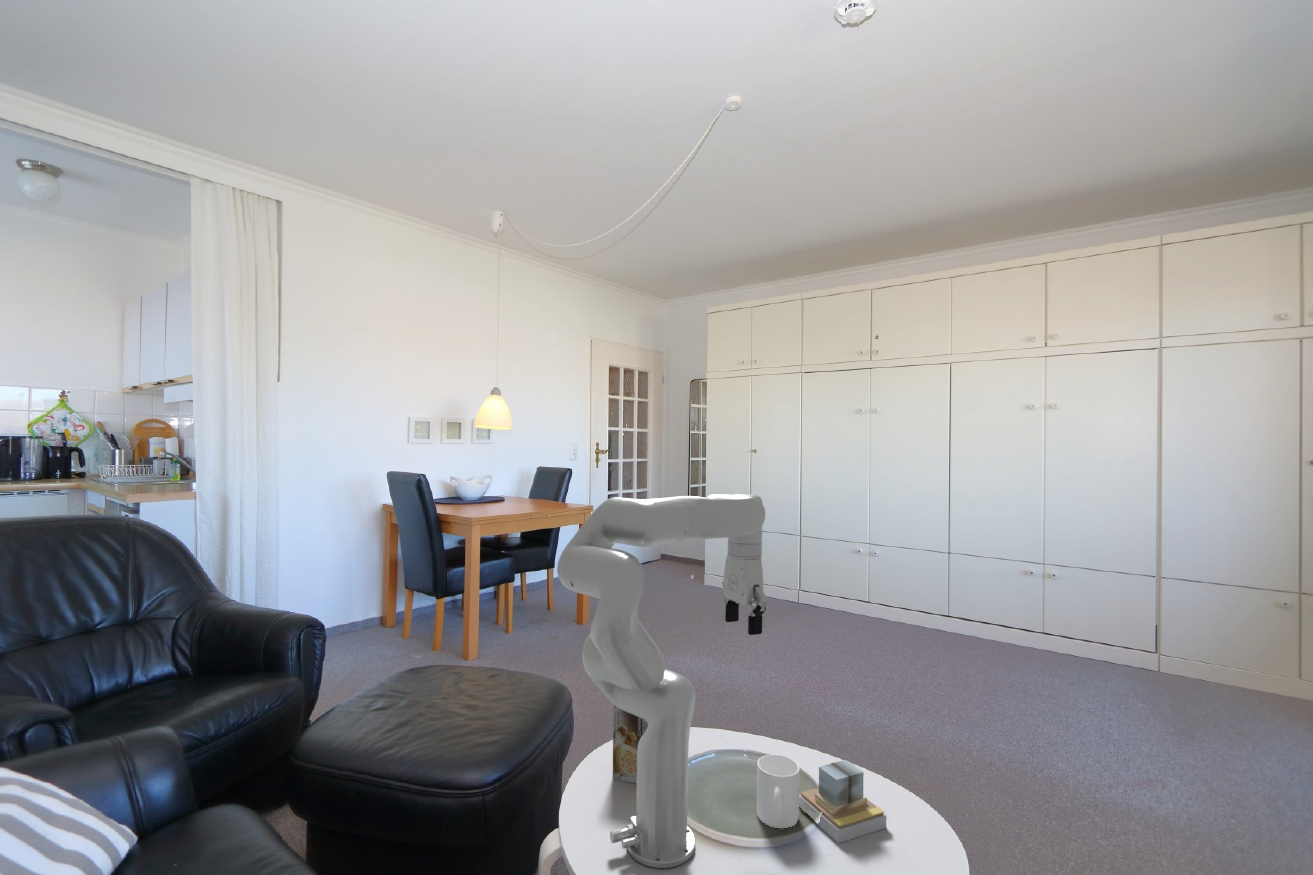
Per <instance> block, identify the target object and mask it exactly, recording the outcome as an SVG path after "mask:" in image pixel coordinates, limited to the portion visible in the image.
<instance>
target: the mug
mask: <svg viewBox="0 0 1313 875" xmlns="http://www.w3.org/2000/svg"><path fill="white" fill-rule="evenodd" d="M756 765H757V768H756V769H757V770H756V774H757V775H756V778H757V779H756V813H757V817H758V818H759V821H761V822H762V823H763V824H764V823H765V824H764V825H765V826H767V825H768V826H767V827H769V826H770V827H769V828H772V827H774V828H773V829H775V828H782V829H781V830H784V829H783V828H788V827H791V828H793V827H794V826H796V825H797V823H798V822H799V817H800V816H799V815H800V808H799V794H800V765H799V764H798V763H797V761H796V760H794V759H792V758H790V757H788V756H786V755H781V754H773V753H771V754H766V755H763V756H760V758H759V759H757V764H756ZM797 821H798V822H797ZM792 826H793V827H792ZM788 829H789V828H788Z"/></svg>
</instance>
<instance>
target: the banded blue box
mask: <svg viewBox="0 0 1313 875" xmlns="http://www.w3.org/2000/svg"><path fill="white" fill-rule="evenodd" d="M818 788H819V793H817V794H815V801H816V802H818V803H819V804H820V805H821V806H822V807H824V808H825V809H826V810H827V811H828V812H830V813H831V814H835V813H838V812H841V811H845V810H848V809H851V808H854V807H857V806H861V805H864V804H867V799H868V797H867V796H866V795H864V771H862V769H860V768H858V766H857V767H856V766H855V765H854V764H852V763H851V762H850V761H848V760H847V759H844V760H840V761H836V762H830V763H828V764H824V765H820V766H818Z"/></svg>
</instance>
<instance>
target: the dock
mask: <svg viewBox="0 0 1313 875" xmlns="http://www.w3.org/2000/svg"><path fill="white" fill-rule="evenodd" d="M817 793H819V787H817V788H813V789H809V790H805V791H802V792H800V793H799V803H800V805H802V806H803V807H804V808H806V809H807V810H810V811H811V812H814V813H820V812H822V814H821V817H820V822H819V823H818V825H817V826H819V828H820V829H822V830H823V831H824V832H825V833H826V834H827V835H828V836H829V837H830V838H831V839H833V841H835V842H836V843H837V844H840V843H843V842H848V841H850V840H852V839H853V840H854V839H856V838H858V837H859V838H860V837H863V836H865V835H869V834H871V833H875V832H878V831H881V830H883V829H887V814H885V810H884V809H882V808H881V807H879V806H877V805H876V804H874V803H872V802H871V801H870V800H869V799H868V798H867V804H864V805H861V806H857V807H854V808H851V809H848V810H845V811H841V812H838V813H835V814H831V813H830V812H828V811H827V810H826V809H825V808H824V807H822V806H821V805H820V804H819V803H818V802H816V801H815V794H817Z"/></svg>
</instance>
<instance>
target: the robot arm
mask: <svg viewBox="0 0 1313 875" xmlns="http://www.w3.org/2000/svg"><path fill="white" fill-rule="evenodd" d="M765 520H766V508H765V506H764V504H763V499H762V497H761V496H759V495H757V494H753V493H752V494H749V493H747V494H746V493H736V494H722V493H720V494H719V493H714V494H708V495H707V496H706V497H702V496H695V495H694V496H693V495H680V496H679V495H677V496H671V497H670V496H669V497H660V498H658V497H657V498H656V497H655V498H645V499H644V498H641V499H640V498H630V497H619V496H614V497H610V498H608V499H606V500H605V501H603V502H602V503H600V505H598V506H597V507H596V508H595V510H593V512H592V513H591V514H590V515H589V517H588V518H587V519H586V520H585V521H584V523H582V525H581V527H580V528H579V529H578V530H577V532H576V533H575V534H574V535H573V537H572V538H571V539H570V540H569V542H568V543H567V544H566V546H565V547H564V548H563V550H562V552H561V554H560V556H559V559H558V562H557V567H556V568H557V569H556V573H557V577H558V580H559V581H560V583H561V584H562V586H563V587H564V588H566V589H567V590H570V591H571V592H573V593H578V594H581V595H585V596H589V597H593V598H597V599H599V600H598V604H597V608H596V611H595V615H594V617H593V620H592V623H591V625H590V631H589V634H588V636H587V637H586V638H585V641H584V643H583V646H582V647H583V648H582V653H581V654H582V662H583V663H582V664H583V667H584V670H585V672H586V673H587V675H588V677H589V678H590V679H591V681H593V683H594V684H595V685H596V686H597V688H598V689H599V690H600V691H601V692H602V694H603V695H604V696H605V697H606V699H608V701H609V702H610V703H611V704H612V705H613V706H614V705H615V706H616V707H618V708H620V709H621V710H624V711H626V712H628V713H630V714H632V715H635V716H637V717H639V718H641V719H643V720H645V721H646V722H647V724H648V727H647V730H646V731H645V732H644V734H643V735H642V737H641V738H640V740H639V743H638V748H637V783H636V789H635V790H636V798H635V815H633V816H631V817H630V824H626V825H625V827H623V828H617V829H613V830H610V832H609V838H610V842H611V844H616V843H619V842H621V847H622V848H621V849H622V850H625V849H627V850H628V853H629V854H630V856H631V857H632V858H633V859H634V860H636V861H637V862H638V863H640V864H641V865H645V866H647V867H650V868H654V869H667V868H668V869H669V868H674V867H676V866H680V865H682V864H684V863H686V862H687V861H688V860H689V859H690V858H691V857H692V856H693V854H694V852H695V849H696V838H695V834H694V832H693V830H692V829H690V827H689V826H688V801H689V800H688V792H689V791H688V790H689V785H688V784H689V748H690V747H689V742H690V731H691V725H692V724H691V723H692V718H693V716H694V711H695V705H696V692H695V689H694V687H693V685H692V683H691V682H690V681H689V680H688V679H687V678H686V677H684V676H683V675H682V674H680V673H678V672H675V671H673V670H669V669H668V668H667V669H666V664H665V660H664V657H663V656H664V655H663V654H662V651H661V650H660V649H659V647H658V646H657V644H656V643H655V641H654V640H653V639H652V637H651V636H650V634H649V633H648V632H647V630H646V629H645V627H644V625H643V624H642V622H641V621H640V618H639V617H638V616H639V615H638V611H639V606H640V600H641V597H642V592H643V589H644V584H645V573H644V567H643V565H642V563H641V561H640V560H639V559H638V558H637V557H636V556H635V555H633V554H632V553H631V552H630V553H629V552H627V551H626V550H625V551H624V550H621V549H617V548H613V546H614V545H615V544H622V545H627V546H633V547H640V548H648V547H649V548H650V547H655V546H656V547H657V546H662V545H667V544H671V543H677V542H682V541H689V540H690V541H691V540H692V541H693V540H696V541H697V540H711V539H724V538H725V539H726V538H727V554H726V558H725V563H724V564H725V565H724V571H723V581H722V584H721V585H722V588H723V589H722V592H723V596H724V604H725V612H724V613H725V618H724V619H725V622H726V623H734V622H735V623H736V622H738V621H739V619H740V618H739V615H740V613H739V612H740V610H739V608H740V606H747V610H748V612H749V614H750V615H748V617H747V618H748V619H747V622H748V623H747V634H748V635H750V636H754V635H755V636H756V635H761V634H762V633H763V616H764V615H765V612H766V610H767V606H768V602H769V598H768V596H766V594H765V592H764V574H763V572H764V571H763V564H762V563H763V562H762V555H763V553H762V552H763V525H764V524H765ZM754 606H755V608H754Z"/></svg>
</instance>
